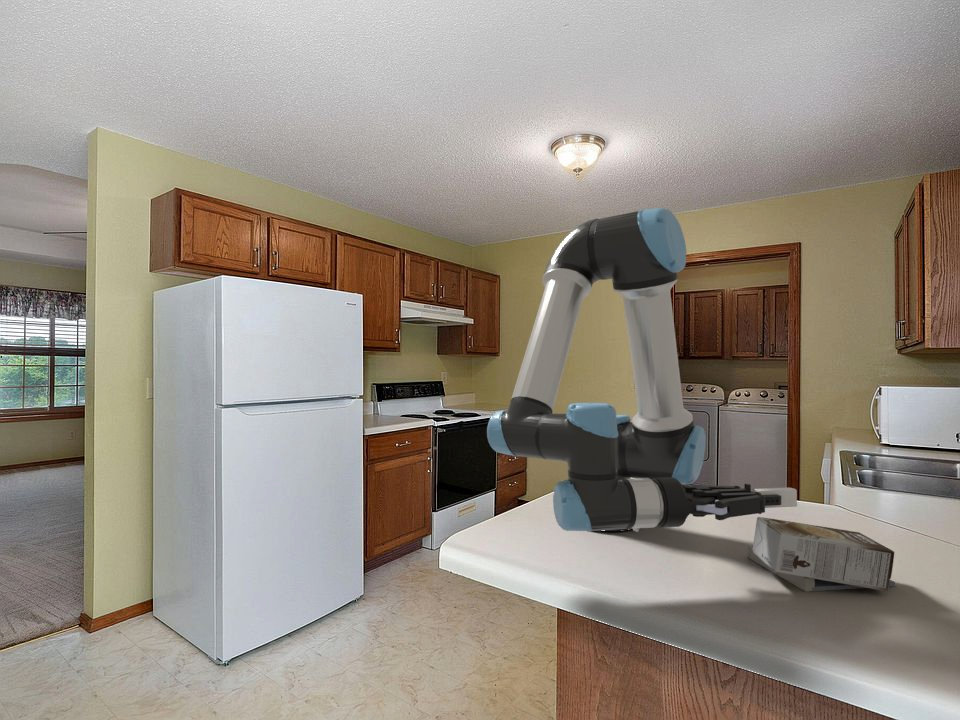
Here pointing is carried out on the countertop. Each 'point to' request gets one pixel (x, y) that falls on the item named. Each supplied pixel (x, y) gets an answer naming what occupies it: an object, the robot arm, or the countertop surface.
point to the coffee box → (823, 553)
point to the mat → (806, 578)
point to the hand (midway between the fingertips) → (793, 496)
